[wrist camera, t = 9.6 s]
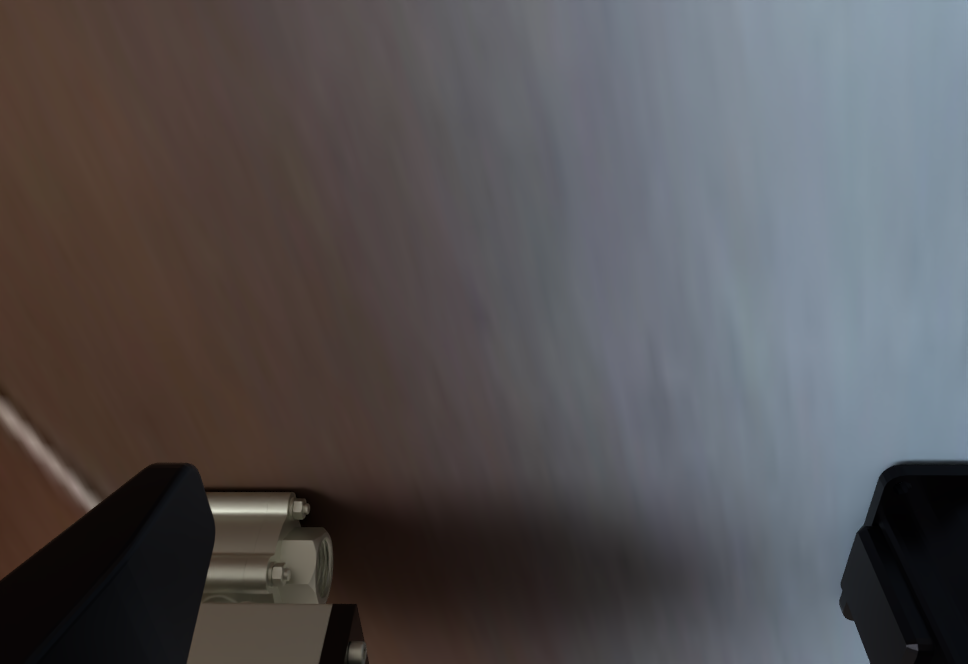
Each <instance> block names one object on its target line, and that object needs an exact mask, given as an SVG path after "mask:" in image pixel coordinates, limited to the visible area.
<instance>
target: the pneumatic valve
mask: <svg viewBox="0 0 968 664" xmlns="http://www.w3.org/2000/svg"><path fill="white" fill-rule="evenodd" d="M206 495H207V498H208V501H209V504H210V508H211V511H212V514H213V517H214V521H215V542H214V548H213V552H212V556H211V561H210V565H209V569H208V574H207V578H206V582H205V587H204V591H203V595H202V600H201V604H200V608H199V613H198V617H197V621H196V626H195V630H194V634H193V639H192V643H191V647H190V652H189V656H188V660H187V664H369V661H368V656H367V652H366V643H365V642H364V637H363V632H362V627H361V622H360V617H359V612H358V608H357V604H325V603H326V601H327V599H328V596H329V593H330V588H331V583H332V575H333V547H332V541H331V537H330V535H329V533H328V532H327V531H326V530H325V529H324V527H301V525H300V522H299V520H303V519H304V518H305V517H306V515H308V514H309V513H310V504H309V503H307V502H306V500H305V498H296V495H295V493H294V492H206Z"/></svg>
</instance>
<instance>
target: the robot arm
mask: <svg viewBox="0 0 968 664" xmlns="http://www.w3.org/2000/svg"><path fill="white" fill-rule="evenodd" d="M899 482H902V483H900V484H897V483H899ZM214 542H215V521H214V517H213V514H212V511H211V508H210V504H209V501H208V498H207V495H206V492H205V489H204V486H203V483H202V480H201V476H200V474H199V472H198V470H197V468H196V467H195V466H194V465H192V464H189V463H155V464H151V465H149V466H147V467H146V468H144V469H143V470H142V471H140V472H139V473H138V474H137V475H135V476H134V477H133V478H131V479H130V480H129V481H128V482H126V483H125V484H124V485H122V486H121V487H120V488H119V489H117V490H116V491H115V492H113V493H112V494H111V495H110V496H108V497H107V498H106V499H105V500H103V501H102V502H101V503H99V504H98V505H97V506H96V507H94V508H93V509H92V510H90V511H89V512H88V513H87V514H85V515H84V516H83V517H81V518H80V519H79V520H78V521H76V522H75V523H74V524H72V525H71V526H70V527H69V528H67V529H66V530H65V531H63V532H62V533H61V534H60V535H58V536H57V537H56V538H54V539H53V540H52V541H51V542H49V543H48V544H47V545H45V546H44V547H43V548H42V549H40V550H39V551H38V552H36V553H35V554H34V555H33V556H31V557H30V558H29V559H27V560H26V561H25V562H24V563H22V564H21V565H20V566H18V567H17V568H16V569H15V570H13V571H12V572H11V573H9V574H8V575H7V576H6V577H4V578H3V579H2V580H0V664H187V660H188V656H189V652H190V647H191V643H192V639H193V634H194V630H195V626H196V621H197V617H198V613H199V608H200V604H201V600H202V595H203V591H204V587H205V582H206V578H207V574H208V569H209V565H210V561H211V556H212V552H213V548H214ZM841 588H842V594H841V597H840V600H839V605H840V607H841V610H842V613H843V615H844V617H845V618H847V619H849V620H852V621H854V622H855V624H856V627H857V630H858V632H859V635H860V638H861V640H862V643H863V645H864V648H865V651H866V653H867V656H868V658H869V661H870V664H968V465H899V466H893V467H891V468H888V469H886V470H885V471H884V472H883V473H882V474H881V475H880V477H879V479H878V482H877V485H876V489H875V492H874V495H873V498H872V501H871V504H870V507H869V510H868V513H867V517H866V520H865V523H864V526H862V527H861V528H860V530H859V531H858V532H857V533H856V536H855V540H854V543H853V546H852V549H851V552H850V555H849V558H848V562H847V565H846V568H845V571H844V574H843V577H842V580H841Z"/></svg>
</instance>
